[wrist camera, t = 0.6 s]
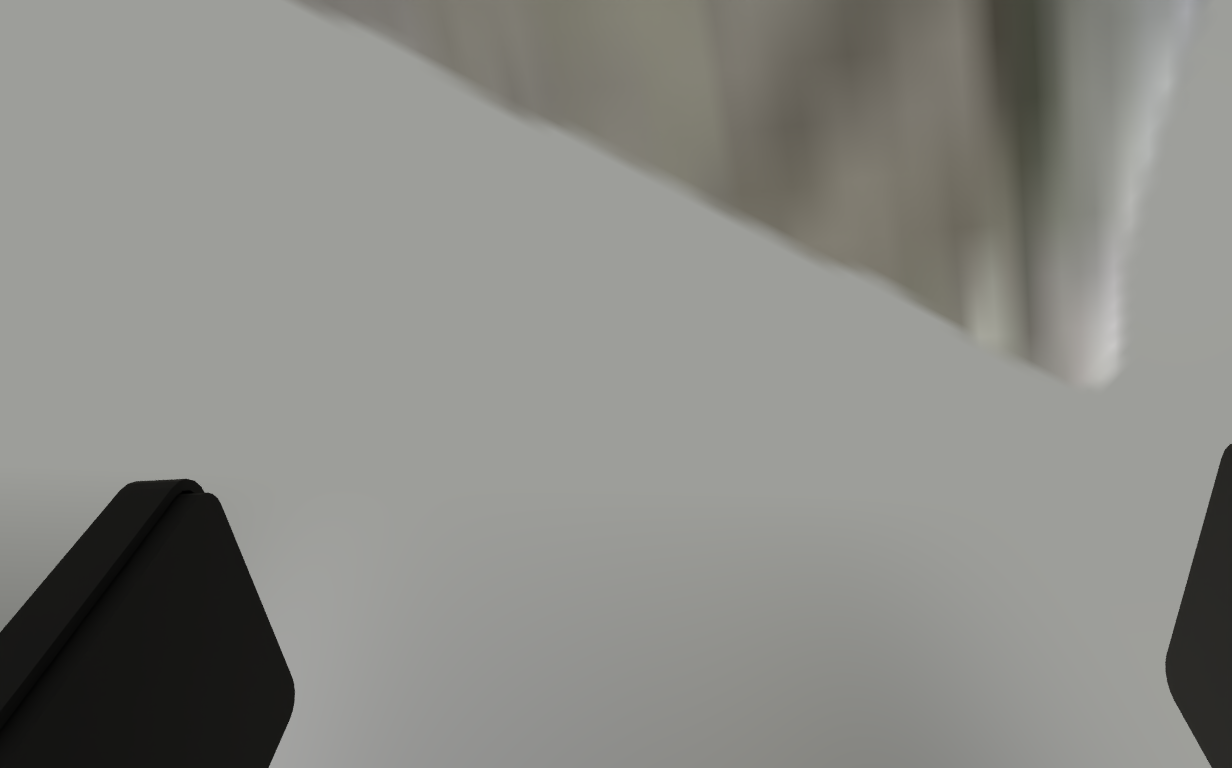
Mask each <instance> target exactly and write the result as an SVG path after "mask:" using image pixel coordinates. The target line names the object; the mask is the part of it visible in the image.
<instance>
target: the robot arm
mask: <svg viewBox="0 0 1232 768" xmlns="http://www.w3.org/2000/svg"><path fill="white" fill-rule="evenodd" d="M1165 663H1166V676H1167V682H1168V685H1169V689H1170V692H1171V694H1172V696H1173V699H1174V701H1175V702H1176V704H1177V706H1178V708H1179V710H1180V711H1181V713H1182V715H1183V717H1184V719H1185V720H1186V722H1187V724H1188V726H1189V728H1190V729H1191V731H1192V733H1193V735H1194V736H1195V738H1196V740H1197V742H1198V744H1199V746H1200V747H1201V749H1202V751H1203V753H1204V754H1205V756H1206V758H1207V760H1208V762H1209V763H1210V765H1211V767H1212V768H1232V444H1230V445H1229V446H1228V447H1227V448H1226V449H1225V451H1224V453H1223V456H1222V458H1221V462H1220V465H1219V469H1218V473H1217V476H1216V480H1215V484H1214V487H1213V491H1212V494H1211V498H1210V501H1209V505H1208V508H1207V513H1206V516H1205V520H1204V523H1203V526H1202V530H1201V534H1200V537H1199V541H1198V544H1197V548H1196V551H1195V555H1194V559H1193V562H1192V566H1191V569H1190V573H1189V577H1188V580H1187V584H1186V587H1185V591H1184V595H1183V598H1182V602H1181V605H1180V609H1179V612H1178V616H1177V619H1176V623H1175V627H1174V630H1173V634H1172V638H1171V641H1170V644H1169V648H1168V652H1167V656H1166V662H1165ZM294 697H295V689H294V682H293V679H292V676H291V674H290V671H289V669H288V666H287V664H286V661H285V659H284V656H283V654H282V651H281V649H280V647H279V644H278V642H277V639H276V637H275V634H274V632H273V629H272V627H271V625H270V622H269V620H268V617H267V615H266V612H265V610H264V608H263V605H262V603H261V600H260V598H259V595H258V593H257V591H256V588H255V586H254V583H253V581H252V578H251V576H250V574H249V571H248V569H247V566H246V564H245V561H244V559H243V556H242V554H241V552H240V549H239V547H238V544H237V542H236V540H235V537H234V535H233V532H232V530H231V527H230V525H229V522H228V520H227V518H226V515H225V513H224V510H223V508H222V506H221V503H220V502H219V500H218V498H217V497H216V496H214V495H213V494H210V493H204V491H203V489H202V487H201V486H200V485H199V484H198V483H196V482H195V481H193V480H189V479H176V480H158V481H157V480H156V481H136V482H133V483H130V484H127V485H126V486H125V487H124V488H122V489H121V490H120V491H119V492H118V494H117V495H116V496H115V497H114V498H113V499H112V501H111V502H110V503H109V504H108V506H107V507H106V508H105V509H104V510H103V511H102V513H101V514H100V515H99V516H98V517H97V519H96V520H95V521H94V522H93V523H92V524H91V525H90V527H89V528H88V529H87V530H86V531H85V533H84V534H83V535H82V536H81V537H80V539H79V540H78V541H77V542H76V543H75V544H74V546H73V547H72V548H71V549H70V550H69V552H68V553H67V554H66V555H65V556H64V558H63V559H62V560H61V561H60V562H59V564H58V565H57V566H56V567H55V568H54V569H53V571H52V572H51V573H50V574H49V575H48V576H47V578H46V579H45V580H44V581H43V582H42V584H41V585H40V586H39V587H38V588H37V589H36V591H35V592H34V593H33V594H32V596H31V597H30V598H29V599H28V600H27V601H26V603H25V604H24V605H23V606H22V607H21V609H20V610H19V611H18V612H17V613H16V615H15V616H14V617H13V618H12V619H11V620H10V622H9V623H8V624H7V625H6V626H5V627H4V629H3V630H2V631H1V632H0V768H269V765H270V763H271V761H272V759H273V756H274V754H275V752H276V749H277V747H278V745H279V743H280V740H281V738H282V736H283V733H284V731H285V729H286V727H287V724H288V722H289V720H290V717H291V714H292V711H293V706H294Z"/></svg>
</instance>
